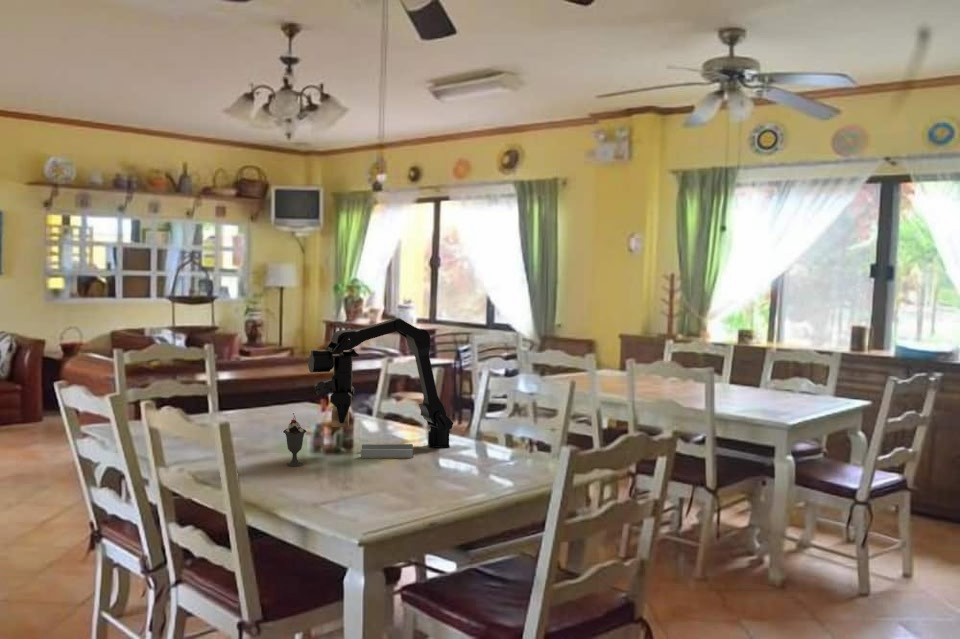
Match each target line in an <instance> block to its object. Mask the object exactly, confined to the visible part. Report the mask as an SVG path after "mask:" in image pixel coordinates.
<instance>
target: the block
mask: <svg viewBox="0 0 960 639" xmlns="http://www.w3.org/2000/svg"><path fill="white" fill-rule="evenodd" d="M349 425H350V409H349V410H348V412H347V415H346V417H345V420H344V423H340V421H339V417H338V412H337V407H333V408H332V409H331V428H349Z"/></svg>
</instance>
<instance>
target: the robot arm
mask: <svg viewBox="0 0 960 639" xmlns="http://www.w3.org/2000/svg"><path fill="white" fill-rule="evenodd" d="M395 332H396V333H397V334H399V335H401V336H402V337H403V338H405V339H406V342H407V345H408V347H409V349H410V350H411V352H412V354H413V356H414V358H415V359H414V360H415V363H416V368H417V372H418V377H419V381H420V386H421V392H422V395H423V400H422V403H419V404H418V406H419V410H420V416H421V417H423V419H424V421H426V422H427V423H426V424H427V425H428V426H429V430H428V431H427V434H428V435H427V444H428V445H429V448H450V447H451V446H450V430H452V428H453V426H454V422H453V421H452V420H451V419H450V418H449V416H447V411H446V409H445V406H444V403H443V402H442V401H441V398H439V395H438V392H437V391H438V390H437V386H436V380H435V378H434V373H433V367H432V363H431V358H430V357H431V356H430V351H431V346H432V344H431V334H430V332H429V331H428V330H426V329H424V328H423V329H422V328H418V327H416V326H414V325H412V324H410V323H409V322H406V321H405V320H404V319H403V318H398V317H392V318H391V319H387V320H385V321H382V322H377V323H374V324H371V325H367V326H364V327H362V328H356V329H355V328H354V329H353V328H352V329H343V330H342V329H339V330H337V331H335V332H334V333H333V335H332V337H331V341H330V342H329V344H328V345H327V346H326V347H325V349H324V350H317V349H311V350H310V355H309V358H308V361H307V362H308V363H307V365H308V366H307V367H308V370H309V373H312V374H314V373H330V372H331V370H333V374H332V376H331V378H329V379H328V380H325V381H324V380H321V381H318V382H317V383H316V384H315V385H314V389H315V392H316V395H317V396H321V395H323V394H326V393H328V392H330V391H331V394H330V397H329V398H330V400H329V403H331V404H333V406H335V408H337V412H338V417H339V421H340V423H344V420H345V417H346V415H347V412H348V410H349V411H350V406H351V404H352V401H353V399H354V396H353V395H355V387H354V386H353V358H358V357H360V354H358V353H357V351H356V350H355V349H354V348H355V347H358V346H360V345H361V344H362V343H364V342H365V341H369V340H372V339H376V338H378V337H382V336H386V335H389V334H392V333H395Z"/></svg>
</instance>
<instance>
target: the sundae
mask: <svg viewBox="0 0 960 639" xmlns="http://www.w3.org/2000/svg"><path fill="white" fill-rule="evenodd" d="M292 415H293V418H292V419H291V421H290V422H289V424H288V426H287V428H285V429H284V430H283V433H284V434H285V438H286V444H287V449H288V451H289V453H290V452H291V454H292V459H291V461H290V462H286V464H285V466H287V467H293V468H296V467H301V466H304V463H303V462H301V461H299V460H298V456H297V455H298V453H299V452H300V451H301V450H302V447H303V443H304V442H303V441H304V435H305V434H306V433H307V430H306V429H305V428H302V427H301V425H300V423H299V422H298V420H296V415H295V413H292Z"/></svg>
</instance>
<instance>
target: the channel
mask: <svg viewBox="0 0 960 639" xmlns="http://www.w3.org/2000/svg"><path fill="white" fill-rule="evenodd" d="M413 446H414V445H413V443H361V449H360V458H361V459H362V458H364V459H370V458H371V459H372V458H373V459H374V458H375V459H378V458H382V459H385V458H386V459H387V458H389V459H391V458H392V459H394V458H396V459H397V458H398V459H401V458H402V459H406V458H407V459H408V458H409V459H412V458H413V459H414V448H413Z"/></svg>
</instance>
